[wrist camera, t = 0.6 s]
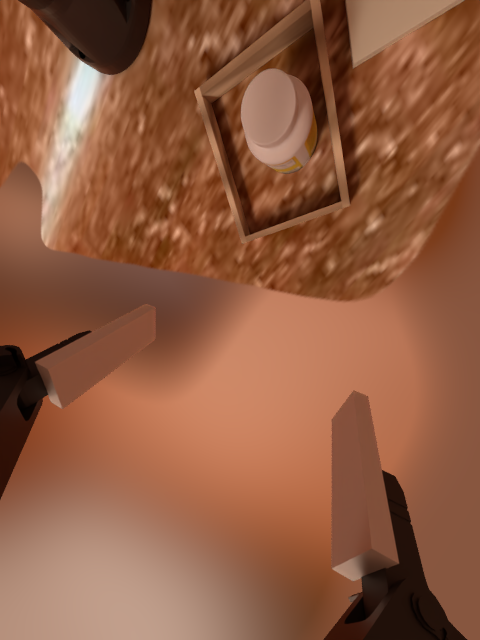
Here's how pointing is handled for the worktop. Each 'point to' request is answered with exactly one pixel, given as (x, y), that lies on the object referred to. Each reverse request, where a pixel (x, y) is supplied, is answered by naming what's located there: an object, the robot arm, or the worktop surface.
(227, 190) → the corral
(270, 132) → the pill bottle
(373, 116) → the worktop surface
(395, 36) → the coaster
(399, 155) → the worktop surface
